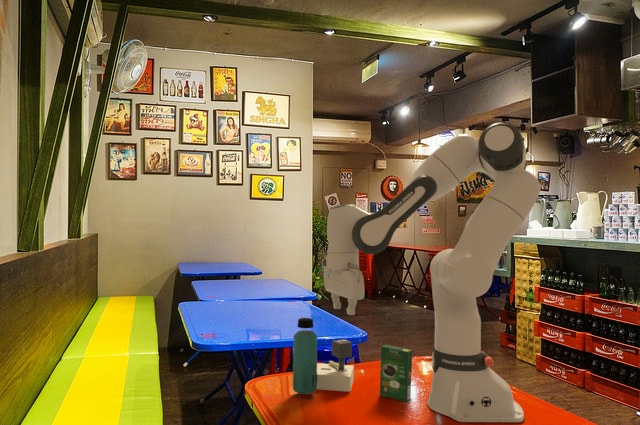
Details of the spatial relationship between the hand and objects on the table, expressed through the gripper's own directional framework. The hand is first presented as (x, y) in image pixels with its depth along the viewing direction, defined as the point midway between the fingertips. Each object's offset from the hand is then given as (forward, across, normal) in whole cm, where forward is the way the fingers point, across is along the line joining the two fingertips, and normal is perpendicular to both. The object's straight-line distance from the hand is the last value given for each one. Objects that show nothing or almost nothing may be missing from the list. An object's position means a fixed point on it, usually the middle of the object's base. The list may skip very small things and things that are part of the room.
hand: (343, 311), depth 133 cm
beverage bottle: (+20, -4, +13) cm, 25 cm away
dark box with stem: (+16, +2, +1) cm, 16 cm away
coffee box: (+21, -13, -8) cm, 26 cm away
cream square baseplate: (+20, +2, +4) cm, 21 cm away
